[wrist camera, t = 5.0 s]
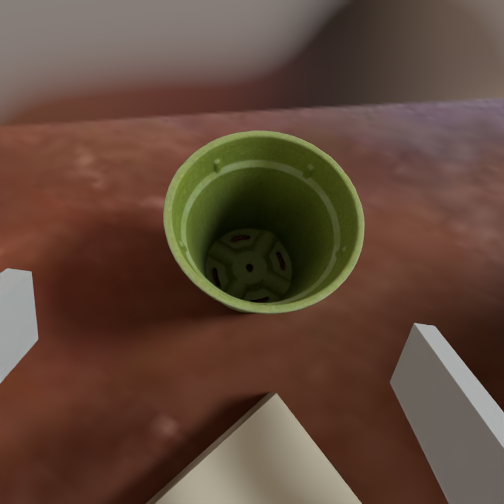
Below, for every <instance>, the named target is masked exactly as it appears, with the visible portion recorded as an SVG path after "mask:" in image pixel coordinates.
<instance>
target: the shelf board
mask: <svg viewBox="0 0 504 504" xmlns="http://www.w3.org/2000/svg"><path fill="white" fill-rule="evenodd" d="M146 504H362V503H361V502H360V501H359V500H358V498H357V497H356V496H355V494H354V493H353V492H352V490H351V489H350V488H349V487H348V485H347V484H346V483H345V481H344V480H343V479H342V477H341V476H340V475H339V474H338V472H337V471H336V470H335V468H334V467H333V466H332V465H331V463H330V462H329V461H328V459H327V458H326V457H325V455H324V454H323V453H322V452H321V450H320V449H319V448H318V446H317V445H316V444H315V442H314V441H313V440H312V439H311V437H310V436H309V435H308V433H307V432H306V431H305V430H304V428H303V427H302V426H301V424H300V423H299V422H298V420H297V419H296V418H295V417H294V415H293V414H292V413H291V411H290V410H289V409H288V407H287V406H286V405H285V404H284V402H283V401H282V400H281V398H280V397H279V396H278V395H277V393H272V392H269V393H268V394H267V395H266V396H265V397H263V398H262V399H261V400H260V401H259V402H258V403H257V404H256V405H255V406H253V407H252V408H251V409H250V410H249V411H248V412H247V413H246V414H245V415H243V416H242V417H241V418H240V419H239V420H238V421H237V422H236V423H235V424H233V425H232V426H231V427H230V428H229V429H228V430H227V431H226V432H225V433H223V434H222V435H221V436H220V437H219V438H218V439H217V440H216V441H215V442H213V443H212V444H211V445H210V446H209V447H208V448H207V449H206V450H205V451H203V452H202V453H201V454H200V455H199V456H198V457H197V458H196V459H195V460H193V461H192V462H191V463H190V464H189V465H188V466H187V467H186V468H185V469H183V470H182V471H181V472H180V473H179V474H178V475H177V476H176V477H175V478H173V479H172V480H171V481H170V482H169V483H168V484H167V485H166V486H165V487H163V488H162V489H161V490H160V491H159V492H158V493H157V494H156V495H155V496H153V497H152V498H151V499H150V500H149V501H148V502H147V503H146Z"/></svg>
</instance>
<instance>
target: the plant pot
mask: <svg viewBox="0 0 504 504" xmlns="http://www.w3.org/2000/svg"><path fill="white" fill-rule="evenodd" d="M163 217H164V229H165V235H166V238H167V242H168V245H169V247H170V250H171V252H172V254H173V256H174V258H175V260H176V262H177V263H178V265H179V266H180V268H181V269H182V271H183V272H184V273H185V275H186V276H187V277H188V278H189V279H190V280H191V281H192V282H193V283H194V284H195V285H196V286H197V287H198V288H199V289H201V290H202V291H203V292H204V293H206V294H207V295H209V296H210V297H212V298H213V299H215V300H217V301H219V302H221V303H222V304H224V305H225V306H227V307H229V308H231V309H233V310H236V311H239V312H244V313H258V314H280V313H287V312H292V311H296V310H300V309H303V308H306V307H308V306H311V305H313V304H315V303H317V302H319V301H320V300H322V299H324V298H325V297H327V296H328V295H330V294H331V293H332V292H333V291H335V290H336V289H337V288H338V287H339V286H340V285H341V284H342V283H343V282H344V281H345V280H346V278H347V277H348V276H349V274H350V273H351V272H352V270H353V268H354V266H355V265H356V263H357V260H358V258H359V255H360V253H361V249H362V245H363V238H364V215H363V210H362V205H361V202H360V200H359V197H358V195H357V193H356V190H355V187H354V186H353V184H352V182H351V180H350V179H349V177H348V176H347V175H346V174H345V173H344V171H343V170H342V168H341V167H340V166H339V165H338V164H337V163H336V162H335V161H334V160H333V159H332V158H331V157H330V156H328V155H327V154H326V153H324V152H323V151H321V150H320V149H318V148H317V147H316V146H314V145H312V144H310V143H308V142H306V141H304V140H302V139H299V138H297V137H294V136H291V135H288V134H283V133H278V132H271V131H248V132H240V133H235V134H231V135H227V136H224V137H221V138H219V139H216V140H214V141H212V142H210V143H208V144H207V145H205V146H204V147H202V148H200V149H199V150H197V151H196V152H195V153H194V154H192V155H191V156H190V157H189V158H188V159H187V160H186V161H185V163H184V164H183V165H182V166H181V167H180V168H179V169H178V171H177V172H176V174H175V176H174V177H173V179H172V181H171V183H170V185H169V188H168V190H167V194H166V198H165V202H164V211H163ZM240 235H248V236H249V237H250V238H249V239H247V240H239V241H236V242H231V239H232V238H233V237H236V236H240ZM277 252H278V253H281V256H282V258H283V260H284V262H285V269H284V270H282V269H281V266H280V262H279V259H278V256H277V255H276V253H277ZM248 264H251V265H252V266H253V270H252V271H250V272H249V271H248V270H247V269H246V265H248ZM214 268H216V269H217V275H218V279H219V282H220V284H221V286H220V287H219V286H216V284H215V282H214V278H213V276H212V271H213V269H214ZM265 297H269V298H268V300H267V301H266V302H264V303H255V302H249V301H250V300H258V299H262V298H265Z"/></svg>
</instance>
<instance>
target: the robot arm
mask: <svg viewBox="0 0 504 504" xmlns="http://www.w3.org/2000/svg"><path fill="white" fill-rule="evenodd" d="M37 340H38V331H37V321H36V311H35V301H34V291H33V281H32V272H31V271H23V270H16V269H9V268H7V269H6V270H4V271H3V272H2V273H0V383H1V382H2V381H3V379H4V378H5V377H6V376H7V375H8V374H9V373H10V371H11V370H12V369H13V368H14V367H15V366H16V364H17V363H18V362H19V361H20V360H21V359H22V358H23V356H24V355H25V354H26V353H27V352H28V351H29V349H30V348H31V347H32V346H33V345H34V344H35V343H36V341H37ZM390 384H391V386H392V388H393V390H394V392H395V394H396V396H397V398H398V400H399V403H400V405H401V407H402V409H403V411H404V413H405V415H406V417H407V419H408V421H409V423H410V425H411V427H412V429H413V431H414V433H415V435H416V438H417V440H418V442H419V444H420V446H421V448H422V450H423V452H424V454H425V456H426V458H427V460H428V462H429V464H430V466H431V468H432V471H433V473H434V475H435V477H436V479H437V481H438V483H439V485H440V487H441V489H442V491H443V493H444V495H445V497H446V499H447V501H448V503H449V504H504V412H503V411H502V410H501V408H500V407H499V406H498V405H497V403H496V402H495V401H494V400H493V398H492V397H491V396H490V395H489V393H488V392H487V391H486V390H485V388H484V387H483V386H482V385H481V383H480V382H479V381H478V380H477V378H476V377H475V376H474V375H473V373H472V372H471V371H470V370H469V368H468V367H467V366H466V365H465V363H464V362H463V361H462V360H461V358H460V357H459V356H458V354H457V353H456V352H455V351H454V349H453V348H452V347H451V346H450V344H449V343H448V342H447V341H446V339H445V338H444V337H443V336H442V334H441V333H440V332H439V331H438V329H437V328H436V327H435V326H432V325H425V324H417V323H414V324H413V327H412V329H411V332H410V334H409V336H408V339H407V341H406V344H405V346H404V349H403V351H402V353H401V356H400V358H399V361H398V363H397V366H396V368H395V370H394V373H393V375H392V378H391V380H390Z"/></svg>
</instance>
